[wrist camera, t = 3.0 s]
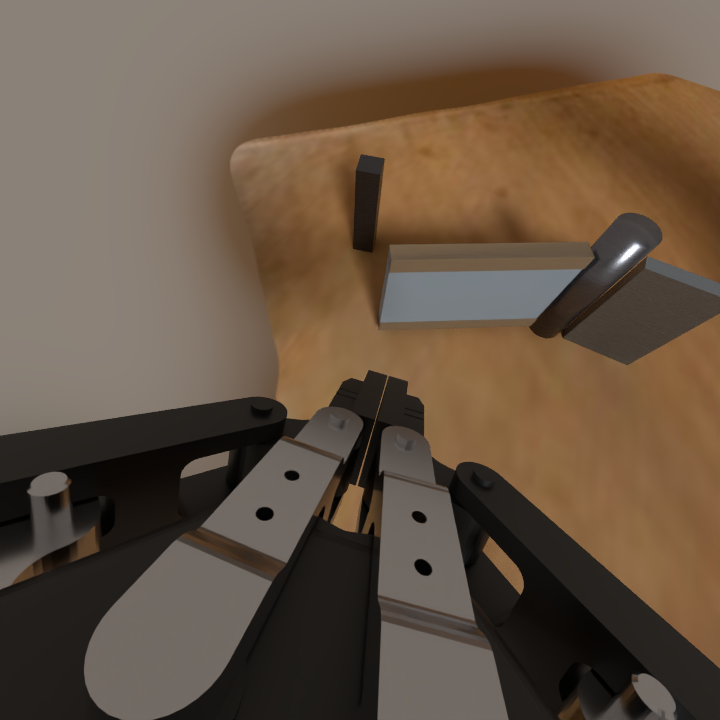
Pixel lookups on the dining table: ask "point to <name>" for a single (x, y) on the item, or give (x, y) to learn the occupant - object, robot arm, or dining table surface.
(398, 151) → the dining table surface
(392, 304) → the gate
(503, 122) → the dining table surface
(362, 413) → the robot arm
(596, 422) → the dining table surface
